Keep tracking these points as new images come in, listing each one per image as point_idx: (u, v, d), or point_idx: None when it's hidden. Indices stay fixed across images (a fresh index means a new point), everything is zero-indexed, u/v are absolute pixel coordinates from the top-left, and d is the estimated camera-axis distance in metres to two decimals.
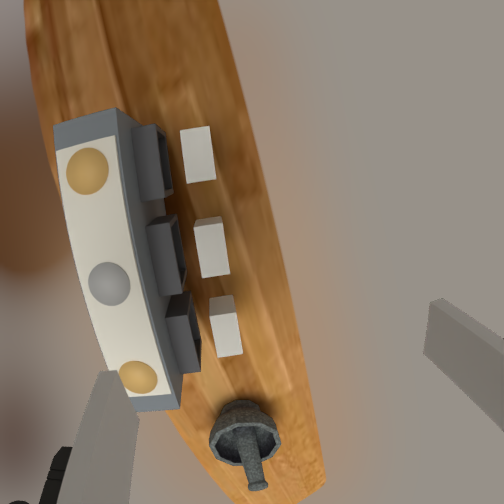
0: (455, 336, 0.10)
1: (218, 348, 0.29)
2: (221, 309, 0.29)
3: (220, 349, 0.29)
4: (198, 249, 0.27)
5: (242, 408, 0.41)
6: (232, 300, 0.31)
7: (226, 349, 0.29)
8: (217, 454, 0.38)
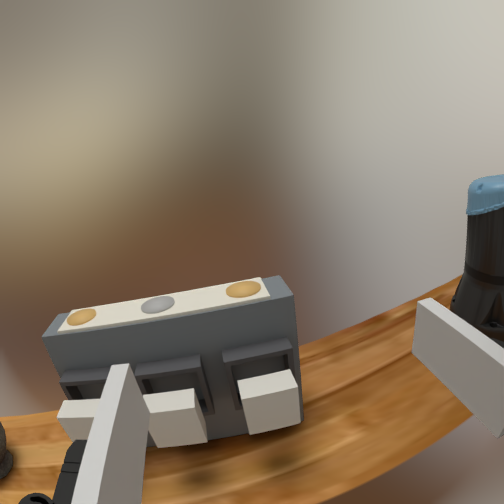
0: (442, 335, 0.11)
1: (72, 401, 0.23)
2: None
3: (70, 402, 0.23)
4: (171, 392, 0.24)
5: (1, 454, 0.23)
6: None
7: (67, 406, 0.22)
8: None
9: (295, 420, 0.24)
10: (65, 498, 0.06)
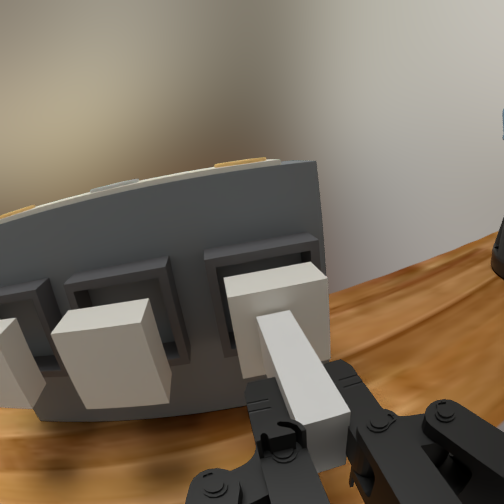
0: None
1: None
2: (15, 345, 0.13)
3: None
4: (111, 304, 0.14)
5: None
6: (20, 384, 0.12)
7: None
8: None
9: (322, 352, 0.15)
10: None
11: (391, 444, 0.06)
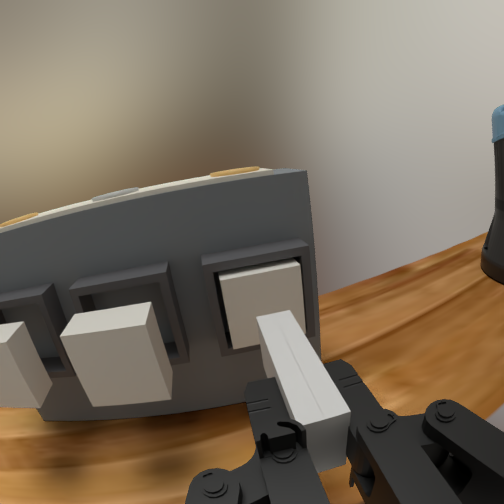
0: None
1: None
2: (23, 347, 0.14)
3: None
4: (116, 308, 0.15)
5: None
6: (29, 385, 0.13)
7: None
8: None
9: None
10: None
11: (391, 444, 0.06)
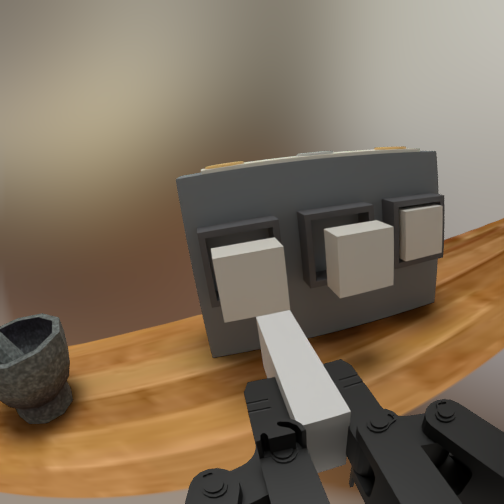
0: None
1: (225, 246, 0.22)
2: None
3: (223, 247, 0.21)
4: None
5: (63, 377, 0.22)
6: None
7: (222, 250, 0.21)
8: (23, 319, 0.24)
9: (438, 247, 0.26)
10: None
11: (391, 444, 0.06)
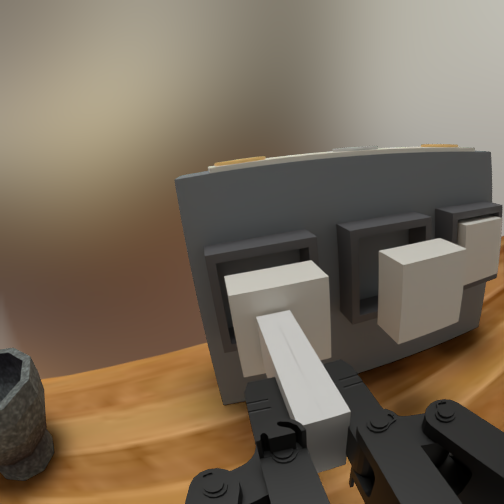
0: None
1: (245, 274, 0.16)
2: None
3: (242, 275, 0.15)
4: (416, 243, 0.16)
5: (39, 431, 0.15)
6: None
7: (241, 280, 0.15)
8: None
9: (495, 267, 0.20)
10: None
11: (391, 444, 0.06)
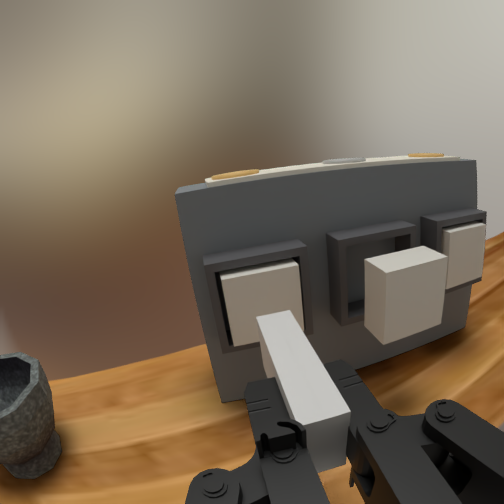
0: None
1: None
2: None
3: None
4: (400, 251, 0.18)
5: (48, 431, 0.16)
6: (301, 308, 0.19)
7: None
8: None
9: (479, 271, 0.21)
10: None
11: (391, 444, 0.06)
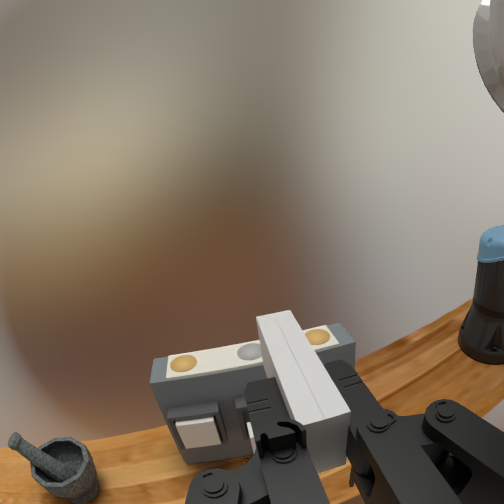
0: None
1: None
2: (214, 419, 0.34)
3: None
4: None
5: (94, 480, 0.31)
6: (218, 435, 0.33)
7: None
8: (58, 440, 0.33)
9: None
10: None
11: (391, 444, 0.06)
